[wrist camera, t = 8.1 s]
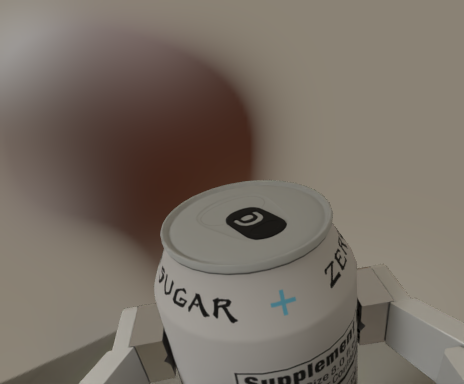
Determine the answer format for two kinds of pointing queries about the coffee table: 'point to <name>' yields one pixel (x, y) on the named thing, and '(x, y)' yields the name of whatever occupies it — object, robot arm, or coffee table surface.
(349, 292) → the energy drink can
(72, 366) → the coffee table surface
